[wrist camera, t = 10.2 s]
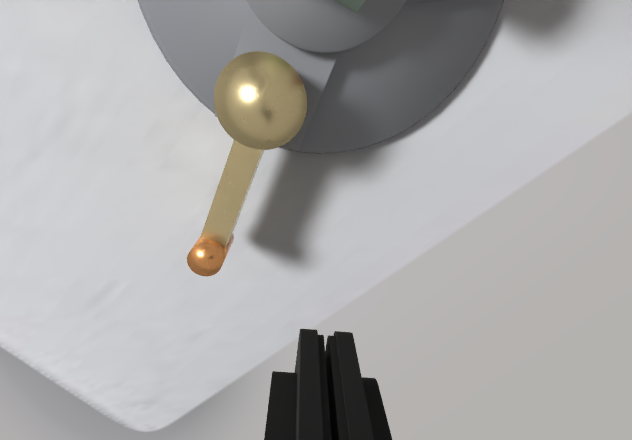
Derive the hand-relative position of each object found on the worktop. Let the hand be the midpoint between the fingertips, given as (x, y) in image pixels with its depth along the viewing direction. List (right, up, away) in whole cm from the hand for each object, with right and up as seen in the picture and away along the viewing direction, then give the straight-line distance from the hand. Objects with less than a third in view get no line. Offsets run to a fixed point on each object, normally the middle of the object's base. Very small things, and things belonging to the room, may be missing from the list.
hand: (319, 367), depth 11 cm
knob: (-4, +8, +9) cm, 12 cm away
